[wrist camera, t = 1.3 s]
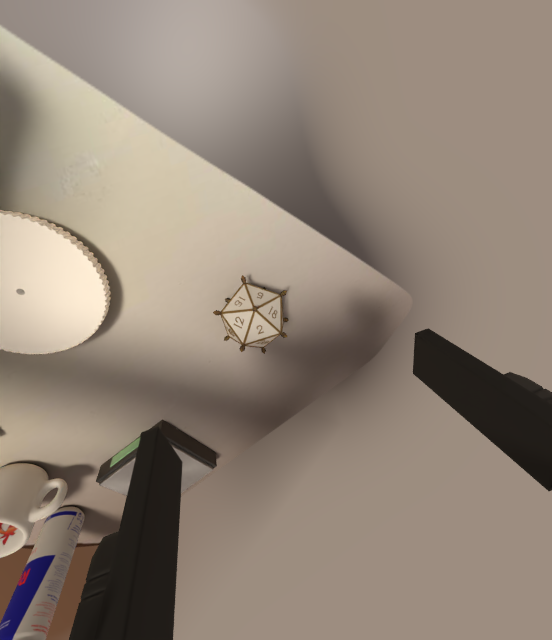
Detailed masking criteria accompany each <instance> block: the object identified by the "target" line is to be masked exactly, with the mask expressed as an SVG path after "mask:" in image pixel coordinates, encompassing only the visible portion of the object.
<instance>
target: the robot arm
mask: <svg viewBox="0 0 552 640" xmlns="http://www.w3.org/2000/svg"><path fill="white" fill-rule="evenodd" d="M413 374H414V375H415V376H416V377H418V378H419V379H420V380H421V381H422V382H423V383H425V384H426V385H427V386H428V387H429V388H430V389H432V390H433V391H434V392H435V393H436V394H437V395H438V396H440V397H441V398H442V399H443V400H444V401H445V402H447V403H448V404H449V405H450V406H451V407H452V408H453V409H455V410H456V411H457V412H458V413H459V414H460V415H461V416H463V417H464V418H465V419H466V420H467V421H468V422H470V423H471V424H472V425H473V426H474V427H475V428H476V429H478V430H479V431H480V432H481V433H482V434H484V435H485V436H486V437H487V438H488V439H489V440H490V441H491V442H493V443H494V444H495V445H496V446H497V447H499V448H500V449H501V450H502V451H503V452H504V453H505V454H507V455H508V456H509V457H510V458H511V459H512V460H513V461H515V462H516V463H517V464H518V465H519V466H520V467H521V468H523V469H524V470H525V471H526V472H527V473H529V474H530V475H531V476H532V477H533V478H534V479H535V480H537V481H538V482H539V483H540V484H541V485H542V486H544V487H545V488H546V489H547V490H548V491H551V490H552V392H550V391H548V390H547V389H543V388H542V386H540V385H538V384H536V383H535V382H533V381H531V380H529V379H528V378H525V377H522V376H520V375H517V374H514V373H511V372H509V373H507V374H504V375H503V374H501V373H500V372H498V371H497V370H495V369H493V368H492V367H490V366H488V365H487V364H485V363H484V362H482V361H480V360H479V359H477V358H475V357H474V356H472V355H470V354H469V353H467V352H466V351H464V350H462V349H461V348H459V347H458V346H456V345H454V344H453V343H451V342H449V341H448V340H446V339H444V338H443V337H441V336H439V335H438V334H436V333H435V332H433V331H431V330H430V329H425V330H423V331H420V332H417V333H415V345H414V365H413ZM182 463H183V462H182V460H181V459H180V457H179V456H178V455H177V453H176V452H175V450H174V449H173V447H172V446H171V444H170V443H169V441H168V440H167V438H166V437H165V435H164V434H163V432H162V431H161V429H160V428H159V426H158V427H156V428H153V429H150V430H147V431H145V432H142V433H141V437H140V441H139V445H138V450H137V454H136V459H135V463H134V467H133V472H132V476H131V480H130V485H129V489H128V494H127V498H126V502H125V507H124V511H123V515H122V520H121V524H120V529H119V531H118V532H115V533H113V534H110V535H108V536H105V537H103V539H102V541H101V543H100V544H99V546H98V548H97V550H96V552H95V554H94V555H93V557H92V560H91V564H90V567H89V571H88V574H87V578H86V584H85V585H84V589H83V592H82V596H81V602H80V603H79V606H78V609H77V613H76V616H75V620H74V624H73V627H72V631H71V634H70V637H69V640H173V627H174V608H175V591H176V590H175V589H176V572H177V553H178V536H179V518H180V498H181V481H182Z"/></svg>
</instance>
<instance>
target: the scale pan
mask: <svg viewBox="0 0 552 640" xmlns="http://www.w3.org/2000/svg"><path fill="white" fill-rule="evenodd" d="M169 443H170V444H171V446H172V447H173V449H174V450H175V452H176V453H177V455H178V456H179V457H180V459H181V460H182V462H183V463H182V481H181V493H182V492H183V491H185V490H186V489H188V488H189V487H190V486H192V485H193V484H194V483H196V482H197V481H199V480H200V479H201V478H203V477H204V476H206V475H207V474H208V473H210V472H211V471H212V470H213V466H211V465H209V464H207V463H206V462H204V461H202V460H200V459H199V458H197V457H195V456H193V455H192V454H190V453H188V452H186V451H185V450H183V449H181V448H180V447H178V446H176V445H174V444H173V443H171V442H169ZM135 459H136V455H135V456H134V457H132V458H131V459H130V460H128V461H127V462H126V463H124V464H123V465H122V466H120V467H119V468H118V469H116V470H115V471H114V472H112V473H111V474H110V475H108V476H107V477H106V478H104V479H103V480H101V481H100V484H99V485H100V486H103V487H105V488H108V489H110V490H113V491H116V492H118V493H121V494H123V495H126V496H127V494H128V489H129V485H130V480H131V476H132V472H133V467H134V463H135Z"/></svg>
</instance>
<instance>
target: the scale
mask: <svg viewBox="0 0 552 640" xmlns="http://www.w3.org/2000/svg"><path fill="white" fill-rule="evenodd" d="M158 426H159V428H160V429H161V431H162V432H163V434H164V435H165V437H166V438H167V440H168V441H169V442H171V443H173V444H174V445H176V446H178V447H180V448H181V449H183V450H185V451H186V452H188V453H190V454H192V455H193V456H195V457H197V458H199V459H200V460H202V461H204V462H206V463H207V464H209V465H211V466H213V468H215V467H216V466H217V464H216V453H215V452H213V451H212V450H210V449H209V448H207V447H205V446H204V445H202V444H200V443H199V442H197V441H196V440H194V439H192V438H191V437H189V436H188V435H186V434H184V433H183V432H181V431H179V430H178V429H176V428H175V427H173V426H171V425H170V424H168V423H167V422H165V421H163V420H162V421H160V422H159V423H158V424H156V425H155V426H154V427H152V428H151V429H153V428H156V427H158ZM140 437H141V436H140ZM140 437H139V438H137V439H136V440H135V441H133V442H132V443H131V444H129V445H128V446H127V447H125V448H124V449H123V450H121V451H120V452H119V453H117V454H116V455H115V456H113V457H112V458H111V459H109V460H108V461H107V462H105V463H104V464H103V465H101V467H100V470H99V473H98V476H97V479H96V482H98V483H100V481H101V480H103V479H104V478H106V477H107V476H108V475H110V474H111V473H112V472H114V471H115V470H116V469H118V468H119V467H120V466H122V465H123V464H124V463H126V462H127V461H128V460H130V459H131V458H132V457H134V456H135V455H136V454H137V450H138V445H139V441H140Z"/></svg>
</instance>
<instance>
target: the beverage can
mask: <svg viewBox="0 0 552 640" xmlns="http://www.w3.org/2000/svg"><path fill="white" fill-rule="evenodd" d="M84 518H85V516H84V513H83V512H82V511H81V510H80V509H79V508H77V507H63V508H60V509H58V510H56V511H55V512H54V513H52V514H51V515H49V516H48V517H47V519H46V521H45V523H44V525H43V527H42V530H41V532H40V534H39V536H38V539H37V541H36V543H35V546H34V548H33V550H32V552H31V555H30V557H29V559H28V562H27V564H26V566H25V569H24V571H23V573H22V575H21V578H20V580H19V582H18V585H17V587H16V589H15V591H14V594H13V596H12V599H11V600H10V603H9V605H8V608H7V610H6V612H5V614H4V616H3V619H2V621H1V623H0V640H45V639H46V637H47V633H48V630H49V627H50V624H51V621H52V618H53V615H54V612H55V609H56V606H57V603H58V599H59V596H60V593H61V590H62V587H63V584H64V581H65V578H66V574H67V571H68V568H69V565H70V562H71V559H72V556H73V553H74V550H75V547H76V544H77V541H78V538H79V534H80V531H81V528H82V525H83V522H84Z"/></svg>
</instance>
